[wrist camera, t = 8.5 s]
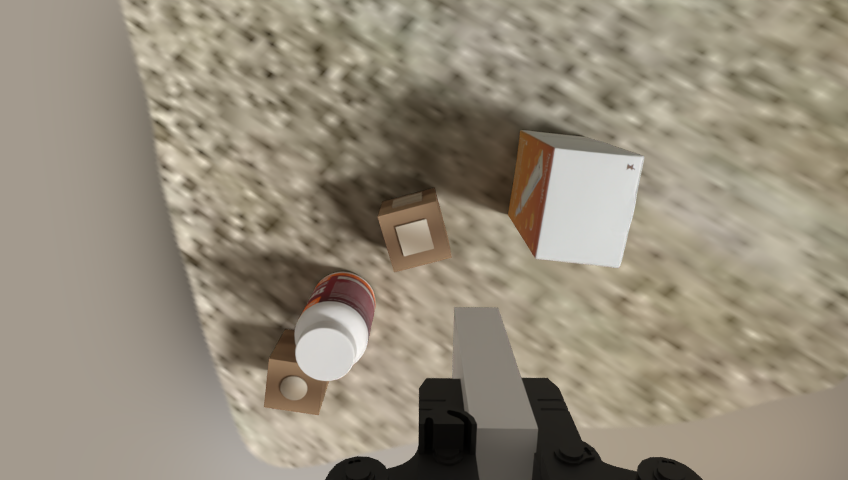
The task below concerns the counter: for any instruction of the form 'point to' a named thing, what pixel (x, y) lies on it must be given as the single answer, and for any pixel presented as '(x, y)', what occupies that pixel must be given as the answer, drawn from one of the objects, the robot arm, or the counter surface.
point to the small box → (574, 197)
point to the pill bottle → (334, 326)
